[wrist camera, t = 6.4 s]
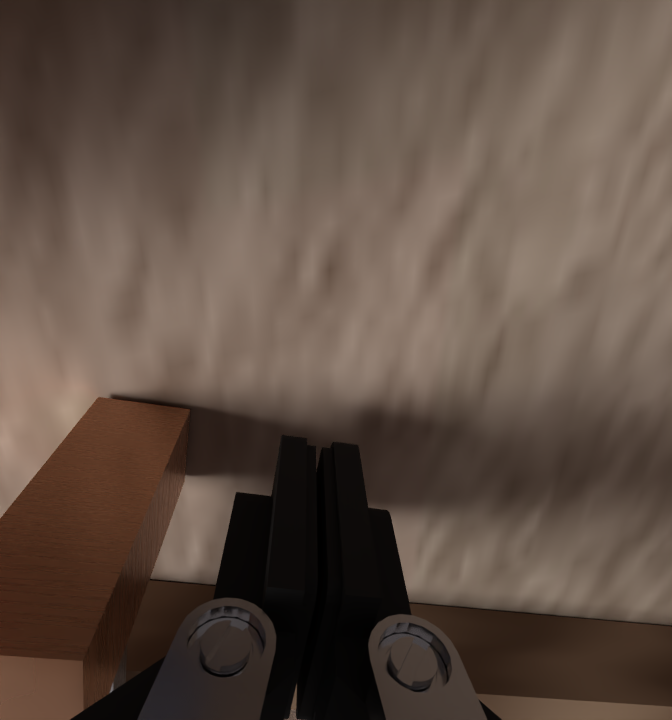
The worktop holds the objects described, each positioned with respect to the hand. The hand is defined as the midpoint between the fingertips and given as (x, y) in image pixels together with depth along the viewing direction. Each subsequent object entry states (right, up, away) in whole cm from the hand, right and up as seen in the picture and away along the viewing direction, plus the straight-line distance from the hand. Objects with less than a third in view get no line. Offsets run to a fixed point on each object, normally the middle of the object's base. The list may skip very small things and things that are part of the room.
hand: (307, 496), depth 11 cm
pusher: (-7, -5, +3) cm, 9 cm away
